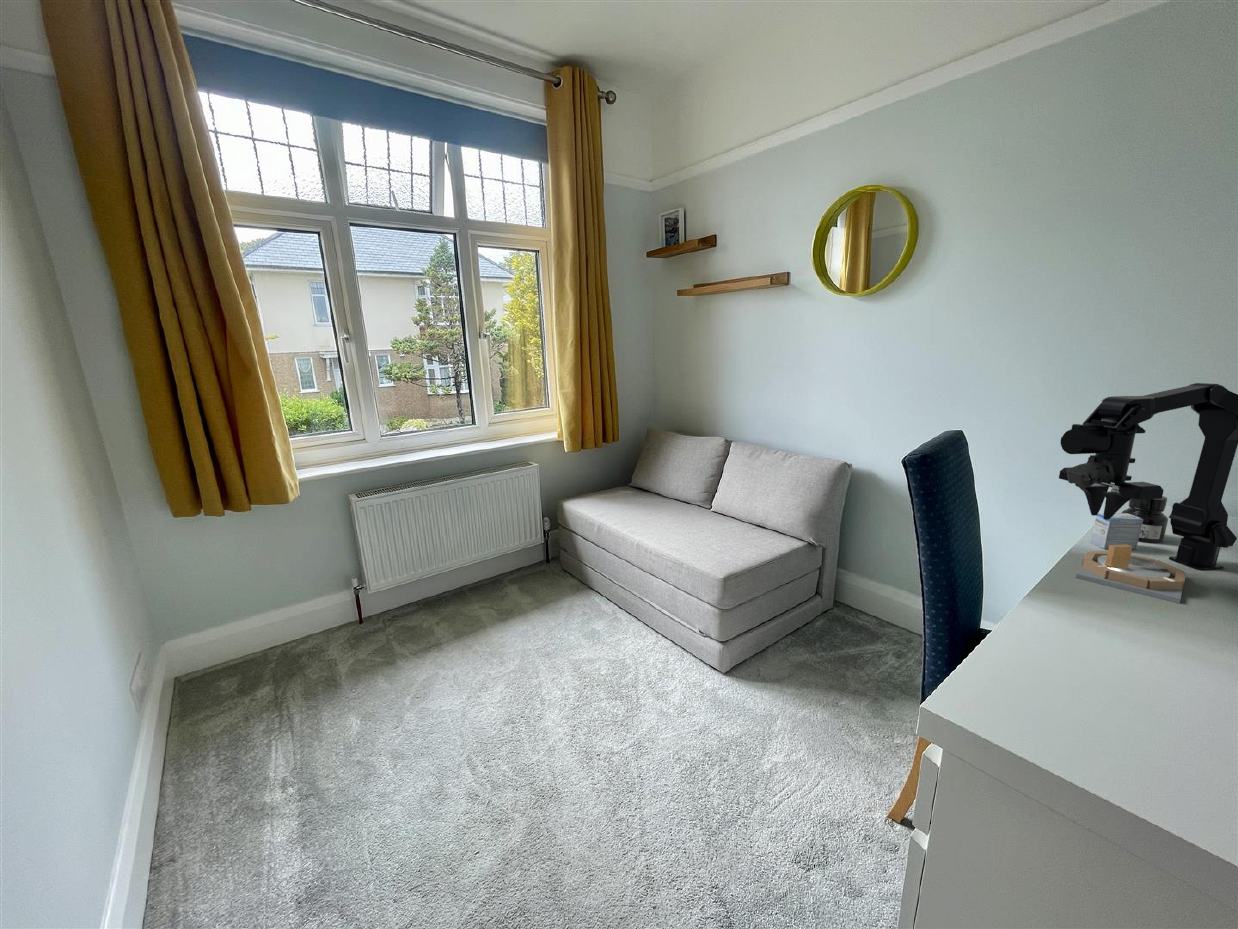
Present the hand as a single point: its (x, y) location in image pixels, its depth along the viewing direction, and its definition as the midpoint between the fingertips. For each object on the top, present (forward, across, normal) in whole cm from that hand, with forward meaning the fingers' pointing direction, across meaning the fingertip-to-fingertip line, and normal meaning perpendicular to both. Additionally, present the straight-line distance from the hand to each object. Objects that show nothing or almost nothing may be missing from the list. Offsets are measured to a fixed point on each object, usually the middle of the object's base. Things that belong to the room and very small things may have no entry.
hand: (1100, 517), depth 115 cm
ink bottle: (+13, -17, +31) cm, 38 cm away
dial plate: (+13, +5, +4) cm, 15 cm away
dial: (+12, +5, +4) cm, 14 cm away
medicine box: (+13, -12, +18) cm, 25 cm away
